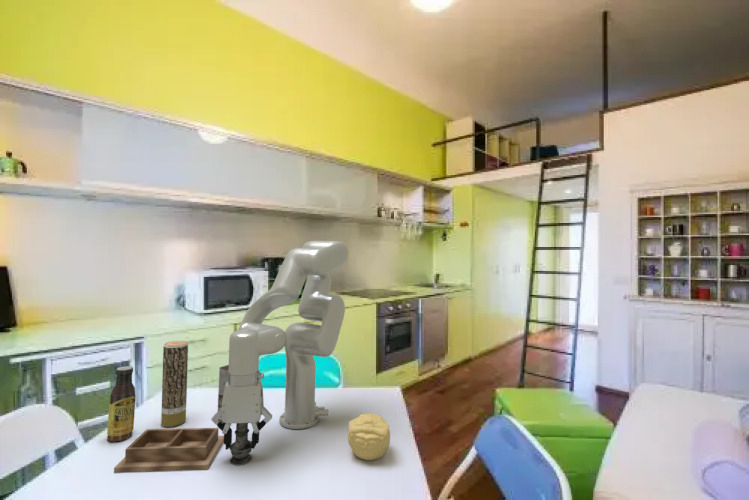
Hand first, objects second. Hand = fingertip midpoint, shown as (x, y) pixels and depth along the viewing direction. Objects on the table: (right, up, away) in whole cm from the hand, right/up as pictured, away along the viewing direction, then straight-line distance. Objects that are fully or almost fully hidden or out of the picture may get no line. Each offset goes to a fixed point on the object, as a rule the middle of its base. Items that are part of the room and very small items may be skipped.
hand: (241, 445), depth 94 cm
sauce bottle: (-38, -3, +9) cm, 39 cm away
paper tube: (-28, -3, +18) cm, 34 cm away
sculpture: (+34, -5, +5) cm, 34 cm away
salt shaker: (0, -4, 0) cm, 4 cm away
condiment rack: (-18, -3, +1) cm, 19 cm away
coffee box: (-12, -4, +26) cm, 29 cm away
